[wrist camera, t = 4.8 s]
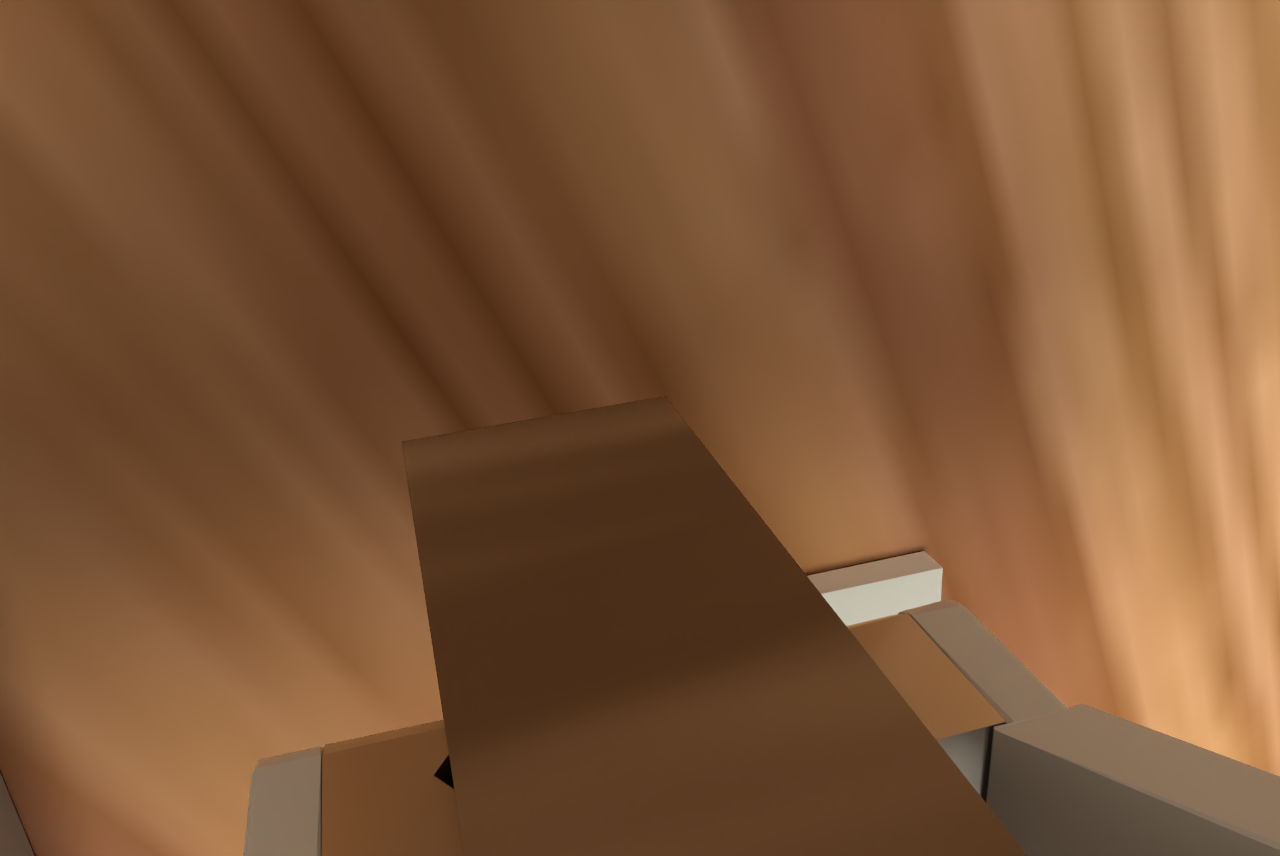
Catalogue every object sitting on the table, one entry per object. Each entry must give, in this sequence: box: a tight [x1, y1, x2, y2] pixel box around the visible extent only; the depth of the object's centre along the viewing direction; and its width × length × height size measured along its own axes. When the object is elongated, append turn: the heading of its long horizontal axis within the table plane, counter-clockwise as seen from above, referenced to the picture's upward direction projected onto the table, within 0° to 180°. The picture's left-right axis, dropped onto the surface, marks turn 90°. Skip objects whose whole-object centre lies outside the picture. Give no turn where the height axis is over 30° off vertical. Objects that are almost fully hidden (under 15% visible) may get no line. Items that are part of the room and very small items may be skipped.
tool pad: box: [807, 551, 943, 626], centre depth 18 cm, size 8×8×1 cm
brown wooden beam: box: [402, 396, 1027, 856], centre depth 8 cm, size 3×3×10 cm
